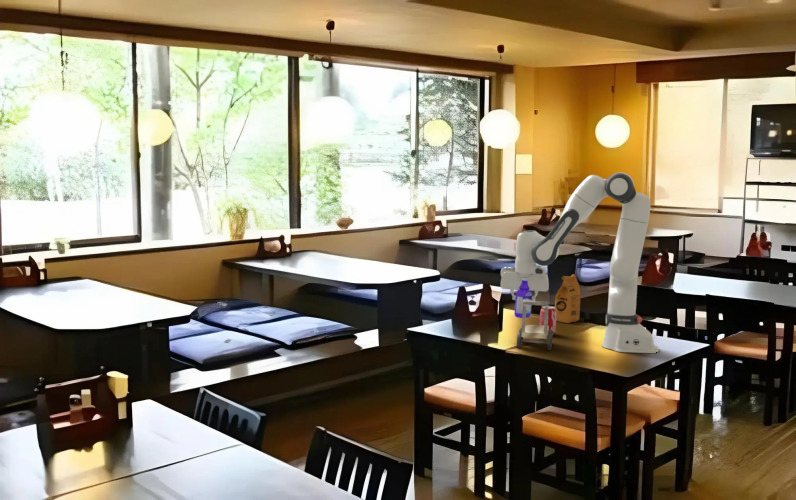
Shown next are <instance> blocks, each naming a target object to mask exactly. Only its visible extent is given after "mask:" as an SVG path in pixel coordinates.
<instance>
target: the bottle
mask: <svg viewBox="0 0 796 500" xmlns="http://www.w3.org/2000/svg"><path fill="white" fill-rule="evenodd" d="M528 280H529V278H525V277H522V284H521V285H520V287H519V290H516V293H515V295H516V300H514V301H515V303H514V317H516V318H518V319H522V314H523V300H526V301H532V297H533V293H532V292H533V291H530V290H529V289H530V288H529V286H528ZM531 313H532V305H526V319H527V318H530V316H531Z"/></svg>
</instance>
